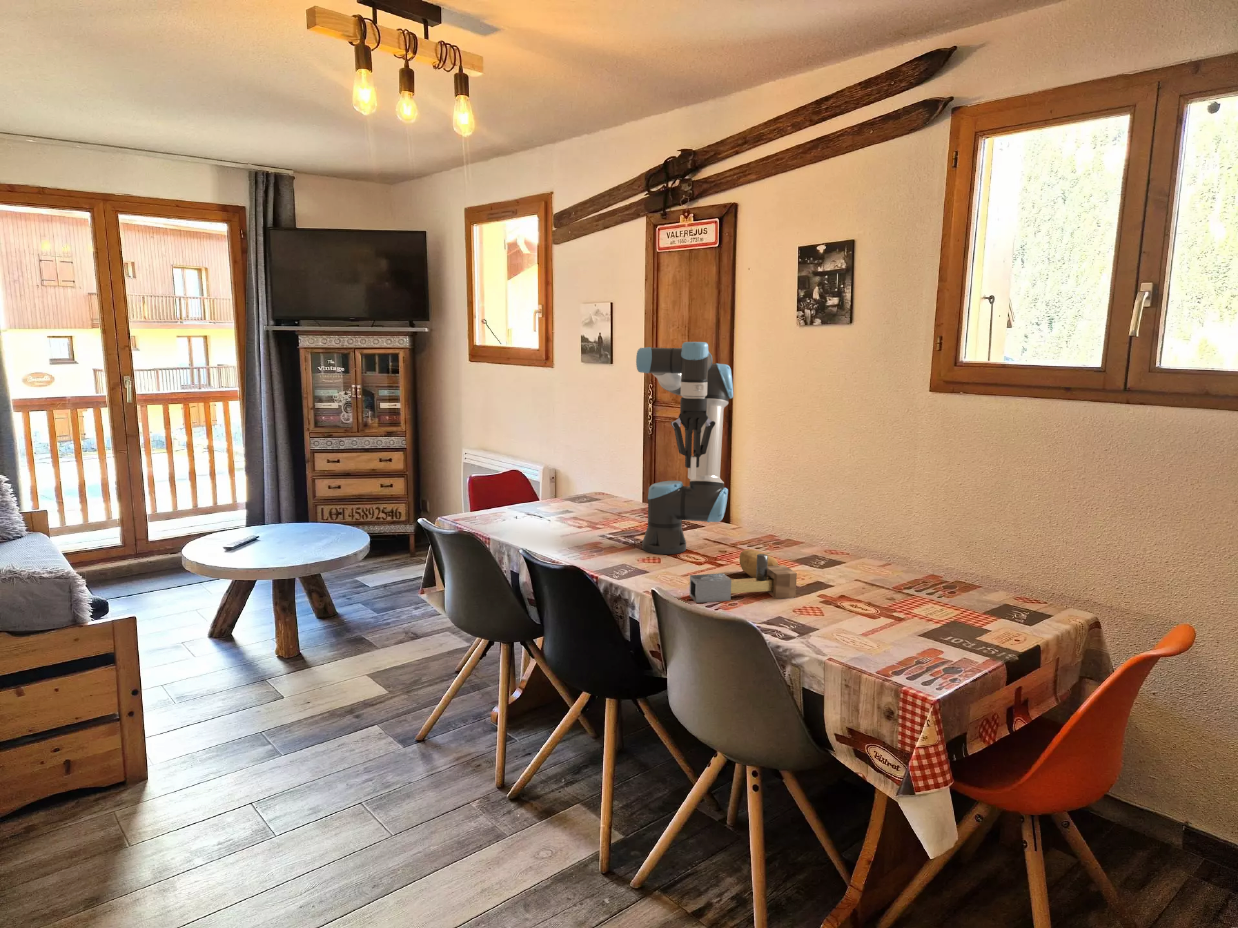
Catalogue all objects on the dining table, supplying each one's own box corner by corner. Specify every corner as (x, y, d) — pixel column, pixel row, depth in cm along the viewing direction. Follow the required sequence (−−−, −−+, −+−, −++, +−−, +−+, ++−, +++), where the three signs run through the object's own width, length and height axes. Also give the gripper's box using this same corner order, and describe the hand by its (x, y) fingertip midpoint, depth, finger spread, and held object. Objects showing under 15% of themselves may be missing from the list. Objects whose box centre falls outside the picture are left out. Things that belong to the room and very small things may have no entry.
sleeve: (689, 595, 217) (689, 575, 216) (722, 593, 220) (723, 573, 219) (696, 602, 212) (696, 581, 211) (730, 600, 214) (731, 579, 213)
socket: (764, 589, 224) (765, 566, 222) (783, 588, 225) (784, 565, 224) (775, 598, 216) (776, 574, 215) (795, 597, 217) (796, 573, 216)
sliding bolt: (715, 590, 217) (716, 556, 216) (778, 586, 222) (780, 552, 220) (719, 594, 214) (720, 559, 213) (782, 589, 219) (784, 555, 217)
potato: (762, 586, 226) (763, 560, 225) (731, 574, 238) (732, 549, 237) (786, 581, 231) (788, 555, 230) (754, 569, 243) (755, 544, 242)
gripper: (676, 398, 214) (674, 482, 218) (720, 397, 217) (717, 480, 221) (667, 396, 221) (666, 477, 225) (710, 395, 224) (708, 475, 228)
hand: (691, 478), depth 223 cm, fingers closed
